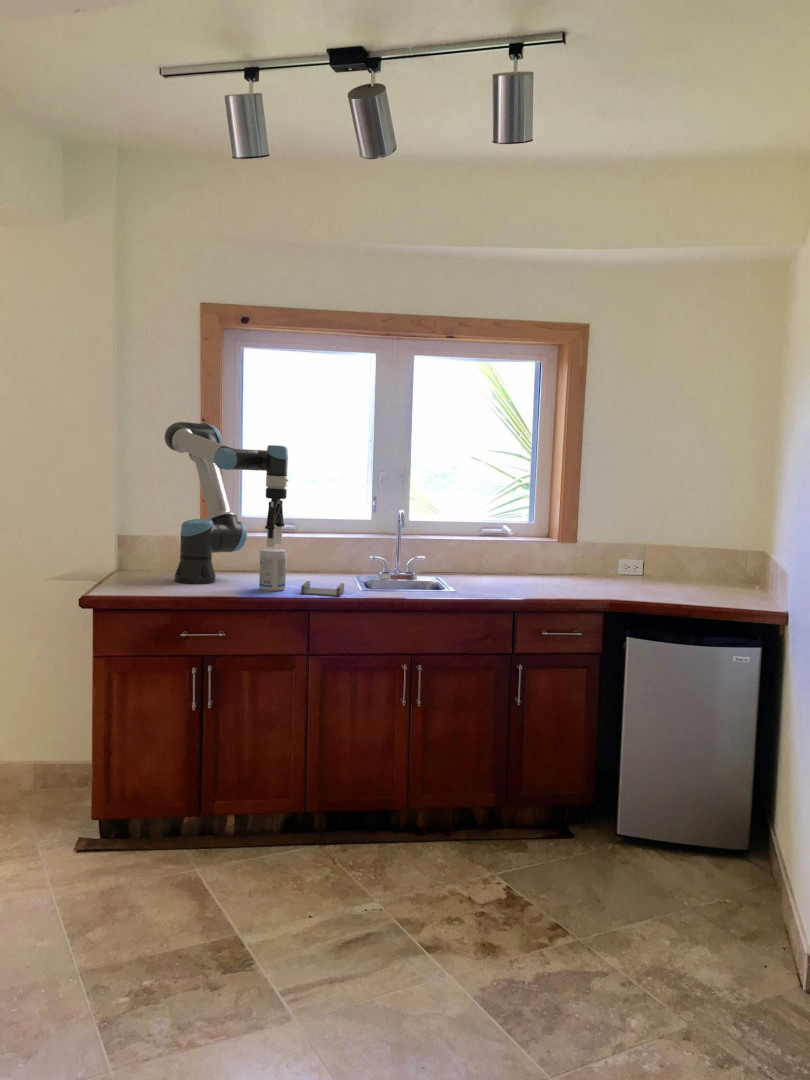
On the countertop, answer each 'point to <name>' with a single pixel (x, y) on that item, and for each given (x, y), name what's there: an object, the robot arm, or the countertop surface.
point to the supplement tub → (272, 569)
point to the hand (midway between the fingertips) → (274, 545)
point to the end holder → (321, 590)
